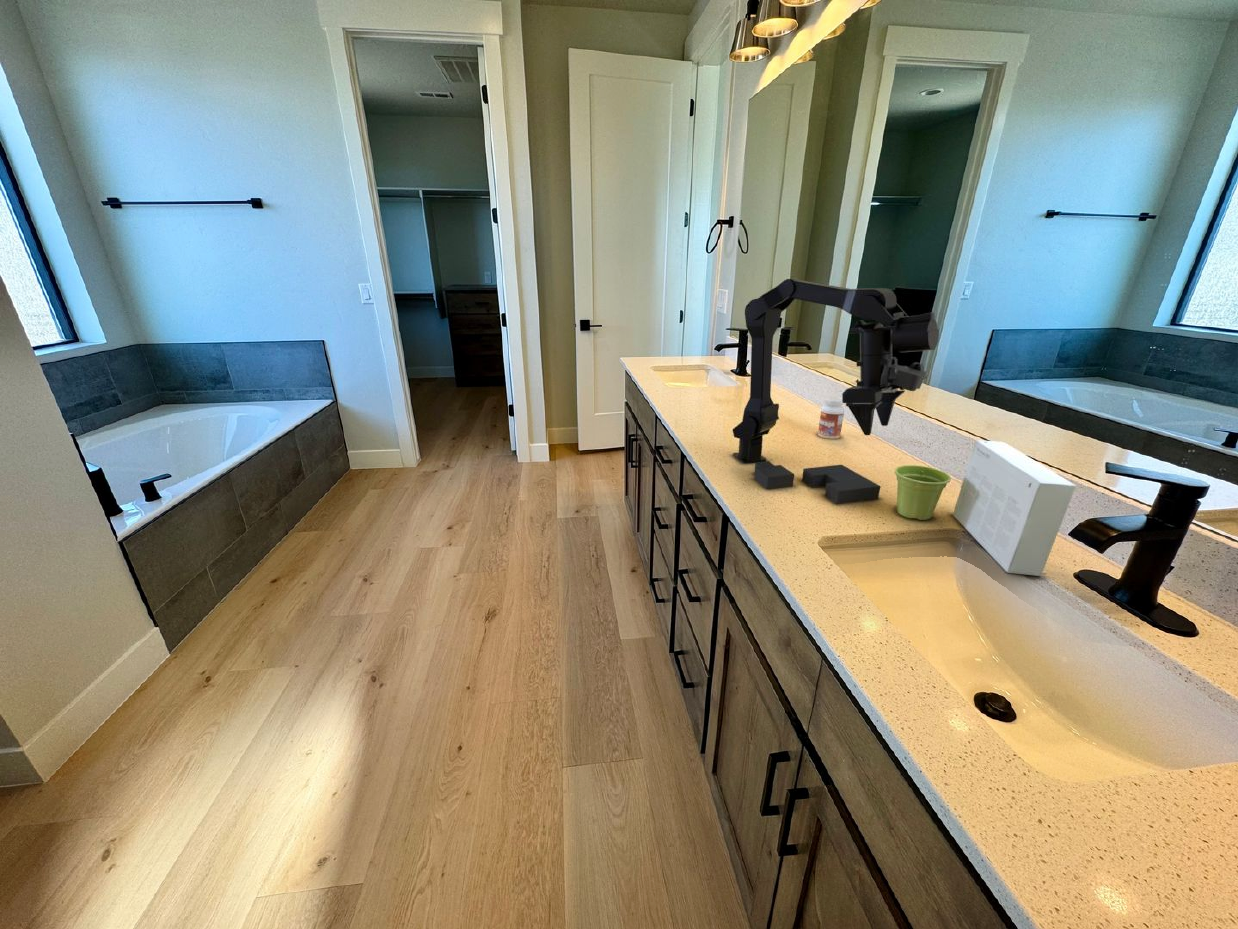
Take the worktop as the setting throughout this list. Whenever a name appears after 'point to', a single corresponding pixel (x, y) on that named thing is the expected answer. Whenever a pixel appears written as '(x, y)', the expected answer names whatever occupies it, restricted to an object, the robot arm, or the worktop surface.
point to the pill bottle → (831, 418)
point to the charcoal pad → (841, 483)
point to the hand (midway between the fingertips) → (876, 430)
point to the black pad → (773, 475)
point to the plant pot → (919, 490)
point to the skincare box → (1012, 506)
